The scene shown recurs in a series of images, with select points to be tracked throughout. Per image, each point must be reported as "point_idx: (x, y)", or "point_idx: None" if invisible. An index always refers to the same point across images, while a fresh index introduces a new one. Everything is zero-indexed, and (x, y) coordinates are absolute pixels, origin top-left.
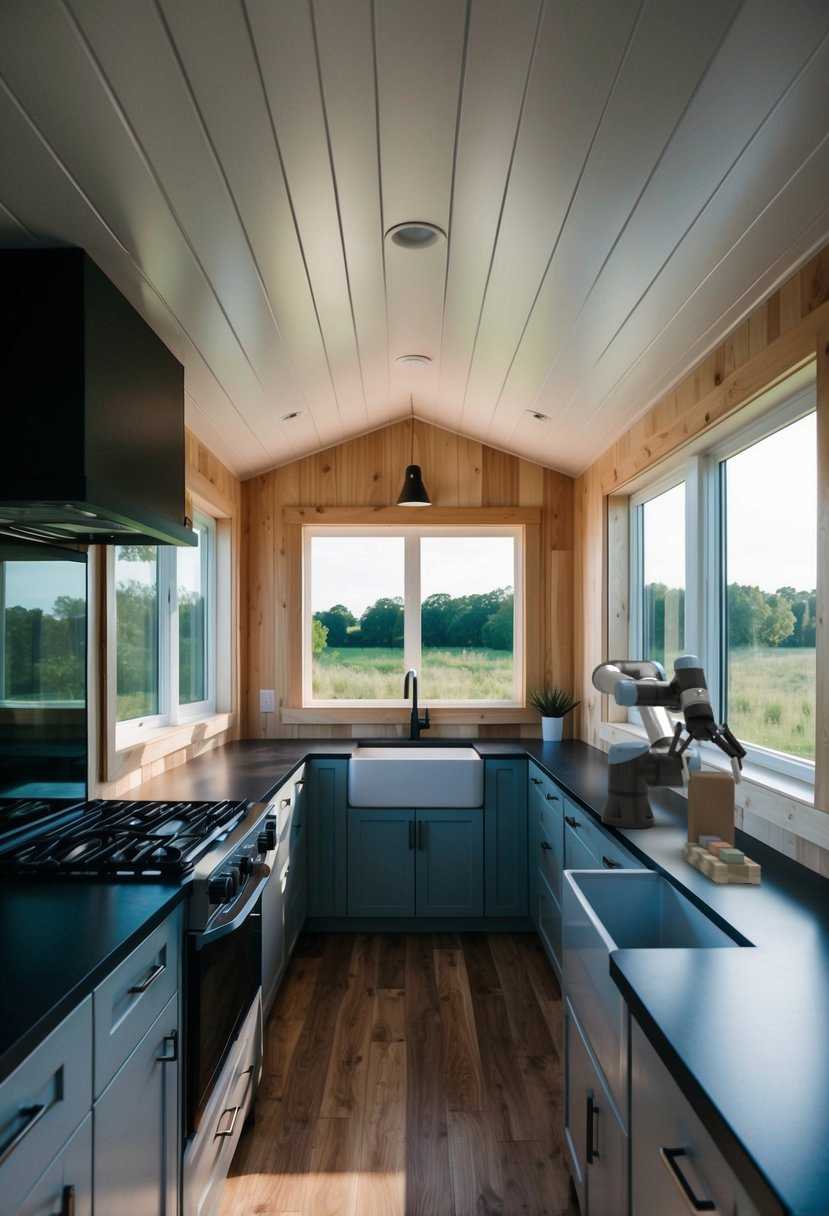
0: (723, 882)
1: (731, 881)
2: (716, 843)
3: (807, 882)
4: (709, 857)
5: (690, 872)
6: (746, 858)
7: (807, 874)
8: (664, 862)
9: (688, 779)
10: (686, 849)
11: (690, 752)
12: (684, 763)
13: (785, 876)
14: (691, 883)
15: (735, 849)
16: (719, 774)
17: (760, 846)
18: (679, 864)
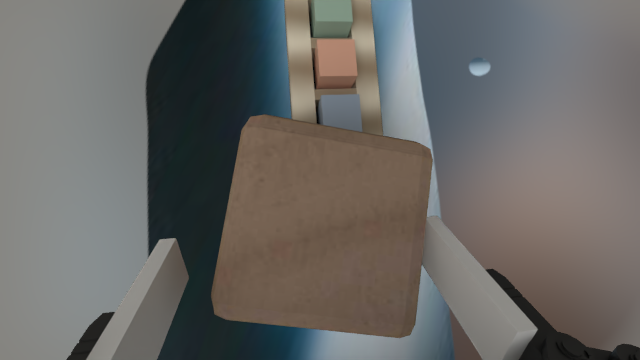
0: None
1: None
2: (344, 62)
3: (190, 27)
4: (365, 39)
5: (385, 72)
6: (291, 37)
7: (163, 76)
8: (415, 130)
9: (429, 217)
10: None
11: None
12: (488, 278)
13: (216, 60)
14: (400, 13)
15: (319, 17)
16: (290, 208)
17: None
18: (391, 119)
